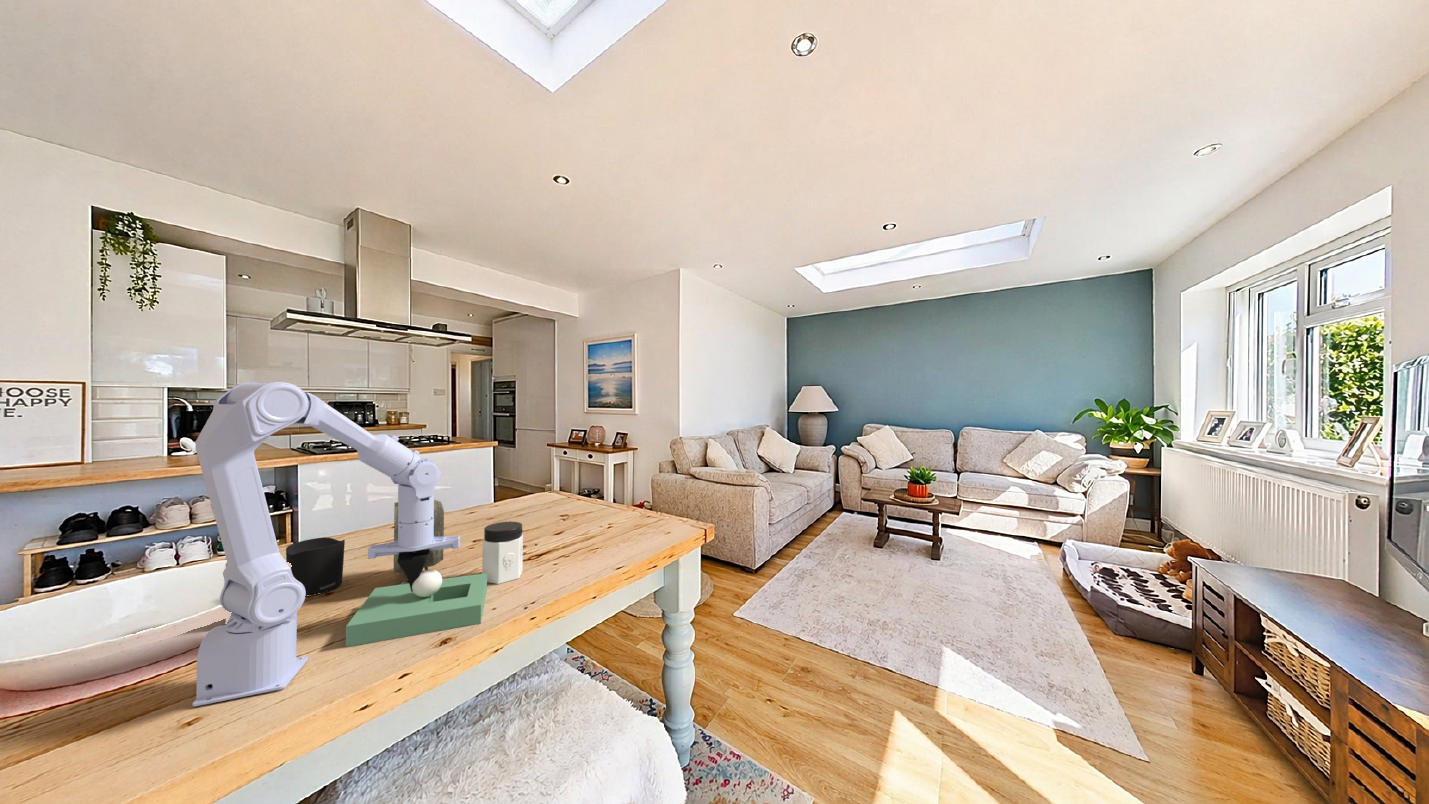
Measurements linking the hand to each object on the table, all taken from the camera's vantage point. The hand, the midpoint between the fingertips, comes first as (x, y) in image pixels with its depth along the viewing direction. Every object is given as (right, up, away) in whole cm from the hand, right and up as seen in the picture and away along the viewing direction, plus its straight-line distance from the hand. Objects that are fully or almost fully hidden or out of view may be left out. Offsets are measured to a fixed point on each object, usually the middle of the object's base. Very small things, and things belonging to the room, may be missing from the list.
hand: (415, 589), depth 83 cm
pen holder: (-29, -5, +10) cm, 31 cm away
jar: (+8, -5, +18) cm, 21 cm away
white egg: (+2, +1, 0) cm, 2 cm away
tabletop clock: (-11, -5, +16) cm, 21 cm away
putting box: (+2, -5, 0) cm, 5 cm away
